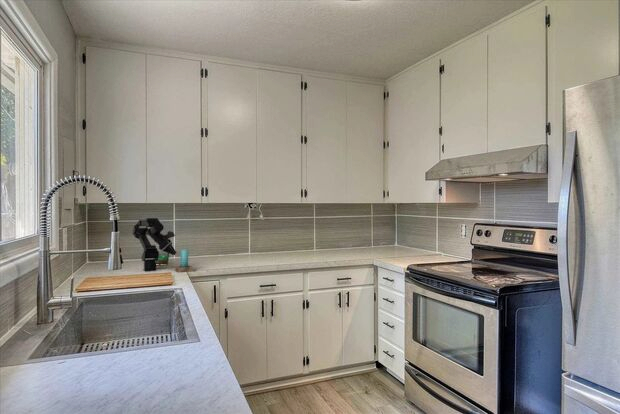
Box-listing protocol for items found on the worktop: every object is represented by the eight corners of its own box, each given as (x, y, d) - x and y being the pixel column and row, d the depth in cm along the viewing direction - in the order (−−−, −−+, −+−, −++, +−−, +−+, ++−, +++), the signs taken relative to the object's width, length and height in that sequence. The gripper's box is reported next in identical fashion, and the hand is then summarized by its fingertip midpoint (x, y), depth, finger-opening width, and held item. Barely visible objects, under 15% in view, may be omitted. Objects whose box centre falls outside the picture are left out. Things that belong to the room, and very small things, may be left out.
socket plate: (179, 272, 231) (179, 268, 231) (175, 270, 238) (175, 266, 238) (193, 271, 236) (193, 267, 236) (189, 269, 243) (189, 265, 243)
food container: (150, 265, 259) (150, 250, 259) (151, 264, 265) (151, 250, 265) (169, 265, 262) (169, 250, 262) (170, 264, 268) (170, 249, 268)
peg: (181, 271, 234) (182, 250, 234) (179, 270, 238) (180, 249, 238) (188, 271, 236) (189, 250, 237) (186, 270, 240) (187, 249, 240)
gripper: (165, 227, 226) (184, 245, 229) (168, 226, 244) (186, 243, 247) (150, 240, 224) (170, 259, 226) (154, 238, 242) (172, 256, 244)
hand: (175, 253), depth 236 cm, fingers open, 9 cm apart
